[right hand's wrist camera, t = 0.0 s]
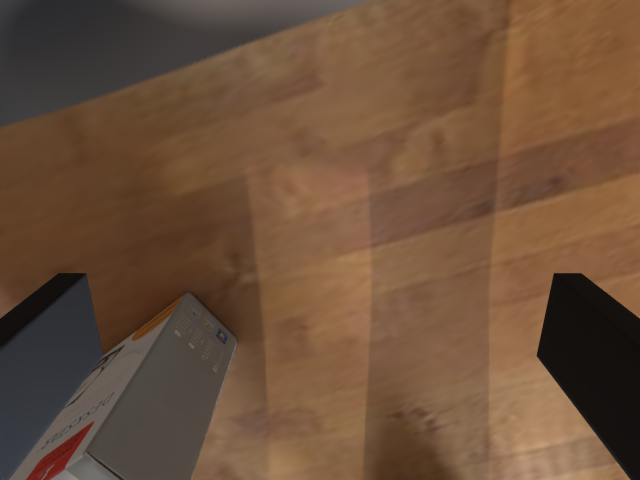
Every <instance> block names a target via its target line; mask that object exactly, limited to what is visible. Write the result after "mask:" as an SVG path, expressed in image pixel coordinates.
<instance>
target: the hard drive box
mask: <svg viewBox="0 0 640 480" xmlns="http://www.w3.org/2000/svg"><path fill="white" fill-rule="evenodd" d="M236 346H237V339H236V338H235V337H234V336H233V335H232V334H231V333H230V332H229V331H228V330H227V329H226V328H225V327H224V326H223V325H222V324H221V323H220V322H219V321H218V320H217V319H216V318H215V317H214V316H213V315H212V314H211V313H210V312H209V311H208V310H207V309H206V308H205V307H204V306H203V305H202V304H201V303H200V302H199V301H198V300H197V299H196V298H195V297H194V296H193V295H192V294H191V293H189V292H187V293H186V294H184V295H183V296H181V297H180V298H179V299H177V300H176V301H175V302H173V303H172V304H171V305H170V306H168V307H167V308H165V309H164V310H163V311H161V312H160V313H159V314H157V315H156V316H155V317H154V318H152V319H151V320H150V321H149V322H147V323H146V324H144V325H143V326H142V327H141V328H139V329H138V330H137V331H135V332H134V333H133V334H131V335H130V336H129V337H127V338H126V339H125V340H123V341H122V342H121V343H119V344H118V345H117V346H115V347H114V348H113V349H111V350H110V351H109V352H108V353H106V354H105V355H104V356H103V357H102V358H101V360H100V361H99V362H98V364H97V365H96V366H95V367H94V369H93V370H92V371H91V373H90V374H89V375H88V377H87V378H86V379H85V381H84V382H83V383H82V385H81V386H80V387H79V389H78V390H77V391H76V393H75V394H74V395H73V396H72V398H71V399H70V400H69V402H68V403H67V404H66V406H65V407H64V408H63V410H62V411H61V412H60V414H59V415H58V416H57V418H56V419H55V420H54V421H53V423H52V424H51V425H50V427H49V428H48V429H47V431H46V432H45V433H44V435H43V436H42V437H41V439H40V440H39V441H38V443H37V444H36V445H35V446H34V448H33V449H32V450H31V452H30V453H29V454H28V456H27V457H26V458H25V460H24V461H23V462H22V464H21V465H20V466H19V468H18V469H17V470H16V472H15V473H14V474H13V475H12V477H11V478H10V479H9V480H191V479H192V476H193V473H194V470H195V467H196V464H197V461H198V458H199V455H200V452H201V449H202V446H203V443H204V440H205V437H206V434H207V431H208V428H209V425H210V422H211V420H212V417H213V414H214V411H215V408H216V405H217V402H218V399H219V396H220V393H221V390H222V387H223V384H224V381H225V378H226V375H227V372H228V370H229V367H230V364H231V361H232V358H233V355H234V352H235V349H236Z"/></svg>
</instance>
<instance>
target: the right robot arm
mask: <svg viewBox="0 0 640 480" xmlns="http://www.w3.org/2000/svg"><path fill="white" fill-rule="evenodd" d="M102 357H103V352H102V347H101V342H100V337H99V333H98V328H97V323H96V318H95V314H94V309H93V304H92V299H91V295H90V290H89V285H88V280H87V276H86V273H59V274H57V275H56V276H55V277H53V278H52V279H51V280H49V281H48V282H47V283H46V284H44V285H43V286H42V287H40V288H39V289H38V290H37V291H35V292H34V293H33V294H31V295H30V296H29V297H28V298H26V299H25V300H24V301H22V302H21V303H20V304H19V305H17V306H16V307H15V308H13V309H12V310H11V311H10V312H8V313H7V314H6V315H4V316H3V317H2V318H1V319H0V480H9V479H10V478H11V477H12V475H13V474H14V473H15V472H16V470H17V469H18V468H19V466H20V465H21V464H22V462H23V461H24V460H25V458H26V457H27V456H28V454H29V453H30V452H31V450H32V449H33V448H34V446H35V445H36V444H37V443H38V441H39V440H40V439H41V437H42V436H43V435H44V433H45V432H46V431H47V429H48V428H49V427H50V425H51V424H52V423H53V421H54V420H55V419H56V418H57V416H58V415H59V414H60V412H61V411H62V410H63V408H64V407H65V406H66V404H67V403H68V402H69V400H70V399H71V398H72V396H73V395H74V394H75V393H76V391H77V390H78V389H79V387H80V386H81V385H82V383H83V382H84V381H85V379H86V378H87V377H88V375H89V374H90V373H91V371H92V370H93V369H94V367H95V366H96V365H97V364H98V362H99V361H100V360H101V358H102ZM537 357H538V358H539V360H540V361H541V362H542V364H543V365H544V366H545V367H546V369H547V370H548V371H549V373H550V374H551V375H552V377H553V378H554V379H555V381H556V382H557V383H558V385H559V386H560V387H561V389H562V390H563V391H564V393H565V394H566V395H567V396H568V398H569V399H570V400H571V402H572V403H573V404H574V406H575V407H576V408H577V410H578V411H579V412H580V414H581V415H582V416H583V418H584V419H585V420H586V421H587V423H588V424H589V425H590V427H591V428H592V429H593V431H594V432H595V433H596V435H597V436H598V437H599V439H600V440H601V441H602V443H603V444H604V445H605V446H606V448H607V449H608V450H609V452H610V453H611V454H612V456H613V457H614V458H615V460H616V461H617V462H618V464H619V465H620V466H621V468H622V469H623V470H624V472H625V473H626V474H627V475H628V477H629V478H630V479H631V480H640V319H639V318H638V317H637V316H636V315H634V314H633V313H632V312H630V311H629V310H628V309H627V308H625V307H624V306H623V305H621V304H620V303H619V302H618V301H616V300H615V299H614V298H612V297H611V296H610V295H609V294H607V293H606V292H605V291H603V290H602V289H601V288H600V287H598V286H597V285H596V284H594V283H593V282H592V281H591V280H589V279H588V278H587V277H585V276H584V275H583V274H581V273H554V276H553V280H552V285H551V290H550V295H549V299H548V304H547V309H546V314H545V318H544V323H543V328H542V333H541V337H540V342H539V347H538V352H537Z"/></svg>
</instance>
